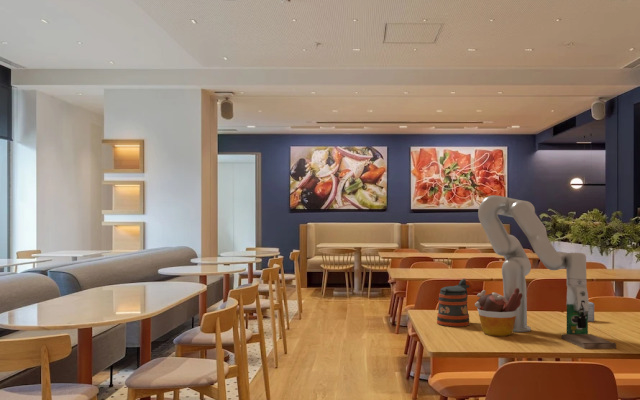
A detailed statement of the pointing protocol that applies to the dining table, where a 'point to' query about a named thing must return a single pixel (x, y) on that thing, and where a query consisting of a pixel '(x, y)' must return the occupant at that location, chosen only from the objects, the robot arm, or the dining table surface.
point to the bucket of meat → (498, 312)
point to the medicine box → (591, 312)
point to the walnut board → (588, 341)
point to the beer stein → (453, 306)
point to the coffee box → (574, 321)
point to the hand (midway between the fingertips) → (577, 325)
